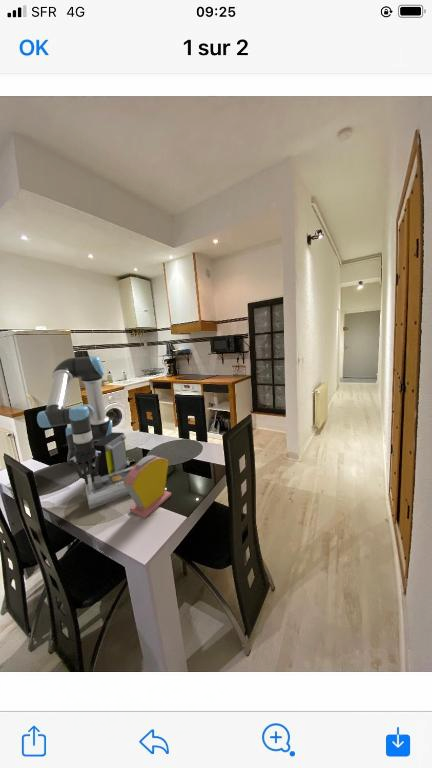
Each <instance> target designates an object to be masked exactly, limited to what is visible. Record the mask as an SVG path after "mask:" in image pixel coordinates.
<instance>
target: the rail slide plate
mask: <svg viewBox="0 0 432 768" xmlns="http://www.w3.org/2000/svg"><path fill="white" fill-rule="evenodd" d="M134 466H135V465H133V466H130V467H126V468H124V469H123V470H120V471H117V472H114V473H111V474H108V475H105V476H108V478H109V480H112V477H114V476H118V475H120V476H121V477H122V476H125V475H128V473H129V472H130V471H131V469H132V468H133V467H134ZM105 476H101V478H102V477H105ZM92 486H93V490H91V491H89V486H88V484H85V486H84V489H85V495H86V499H87V503H88V508H89V510H92V509H95V508H97V507H100V506H103V505H106V504H109V503H111V502H114V501H116V500H119V499H122V498H124V497H128V496H129V495H130V494H129V492H128V490H127V489H126V487H125V485H124V481H121V482H118V483H115V484H112V485H109V486H106V487H103V488H100V489H97V490H95V486H94V482H92ZM130 496H131V495H130Z"/></svg>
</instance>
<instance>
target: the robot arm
mask: <svg viewBox="0 0 432 768" xmlns="http://www.w3.org/2000/svg"><path fill="white" fill-rule="evenodd" d="M51 376H52V379H53V381H52V384H51V389H50V393H49V396H48V401H47V405H46V408H45V410H42V411H39V412H38V413H37V416H36V421H37V424H38V426H39V427H40V428H43V429H44V428H46V429H47V428H52V427H58V426H59V427H60V426H65V425H68V426H67V427H66V428H65V437H66V441H67V446H68V447H67V448H68V453H67V459H66V461H67V464H69V463H70V464H69V465H73V467H74V469H75V471H76V473H77V475H78V477H79V479H84V483H85V485H86V484H88V486H89V491H91V490H93V486H92V482H94V477H95V475H96V474H98V466H99V458H100V456H101V451H96V450H95V448H94V444H95V443H94V442H98V441H100V440H101V439H103V438H104V437H106V436H107V435H109V434H111V433H113V420H112V419H110V417H109V416H107V414H106V407H105V402H104V395H103V391H102V384H101V380H102V379H103V376H105V370H104V366H103V362H102V360H101V358H100V357H99V356H82V357H81V356H80V357H70V358H67V359H64V360H62V361H61V362H60V363H59V364H58V365H56V367H55V368H54V370H53V371H52V375H51ZM77 378H78V379H79V378H80V381H81V382H82V383H83V384H84V388H85V392H86V398H87V404H84V403H83V404H81V405H77V406H72V407H67V408H66V404H67V400H68V399H67V398H68V393H69V389H70V388H69V387H70V383H71V382H73V381H72V380H73V379H77ZM94 454H95V455H96V457H95V456H94ZM94 457H95V461H94V467H93V463H92V459H94ZM86 462H88V467H89V474H88V471H87V465H86ZM77 463H81V465H82V471H83V473H82V471H81V469H80V467H79V464H77Z"/></svg>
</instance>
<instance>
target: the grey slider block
mask: <svg viewBox="0 0 432 768" xmlns="http://www.w3.org/2000/svg"><path fill="white" fill-rule="evenodd" d="M108 481H109V478H108V476H105V477H102V478H101V477H100V475H95V476H94V486H95V490H97V489H100V488H103V483H105V482H108Z"/></svg>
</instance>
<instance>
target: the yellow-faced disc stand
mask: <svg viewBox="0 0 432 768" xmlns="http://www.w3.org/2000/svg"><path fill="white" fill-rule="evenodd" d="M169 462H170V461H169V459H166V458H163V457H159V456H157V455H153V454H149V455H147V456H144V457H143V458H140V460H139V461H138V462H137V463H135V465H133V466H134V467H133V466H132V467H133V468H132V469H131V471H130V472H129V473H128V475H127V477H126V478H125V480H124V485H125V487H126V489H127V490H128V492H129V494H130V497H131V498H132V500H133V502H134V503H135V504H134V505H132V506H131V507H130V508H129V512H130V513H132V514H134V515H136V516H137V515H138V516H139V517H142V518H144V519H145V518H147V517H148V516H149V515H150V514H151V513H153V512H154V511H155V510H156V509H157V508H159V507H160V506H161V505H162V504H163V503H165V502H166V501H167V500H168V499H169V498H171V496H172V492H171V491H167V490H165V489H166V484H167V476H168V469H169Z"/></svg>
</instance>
